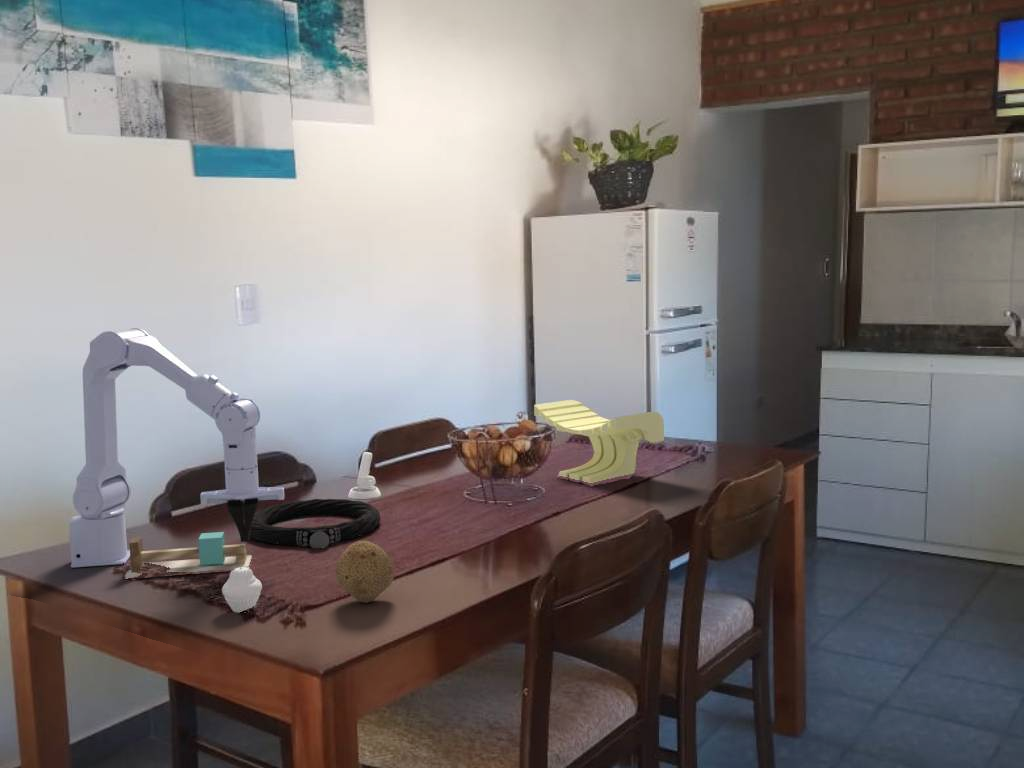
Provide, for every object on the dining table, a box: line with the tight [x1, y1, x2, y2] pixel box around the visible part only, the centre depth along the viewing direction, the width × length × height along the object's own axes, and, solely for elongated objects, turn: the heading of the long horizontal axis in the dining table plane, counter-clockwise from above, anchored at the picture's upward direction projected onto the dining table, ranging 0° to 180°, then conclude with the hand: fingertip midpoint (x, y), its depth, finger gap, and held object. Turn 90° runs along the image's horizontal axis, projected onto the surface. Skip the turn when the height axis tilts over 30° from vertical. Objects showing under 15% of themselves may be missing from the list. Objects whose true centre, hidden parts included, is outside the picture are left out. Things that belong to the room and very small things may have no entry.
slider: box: [197, 531, 227, 565], centre depth 176 cm, size 4×4×5 cm
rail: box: [124, 536, 253, 579], centre depth 175 cm, size 21×7×6 cm, turn 100°
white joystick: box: [347, 451, 382, 500], centre depth 231 cm, size 8×12×7 cm
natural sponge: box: [335, 540, 394, 604], centre depth 156 cm, size 9×9×10 cm
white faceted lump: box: [221, 567, 263, 614], centre depth 153 cm, size 6×6×7 cm
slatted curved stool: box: [533, 399, 665, 483], centre depth 242 cm, size 30×16×18 cm, turn 38°
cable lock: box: [250, 498, 381, 549], centre depth 200 cm, size 28×4×30 cm
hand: (245, 540), depth 177 cm, fingers closed
